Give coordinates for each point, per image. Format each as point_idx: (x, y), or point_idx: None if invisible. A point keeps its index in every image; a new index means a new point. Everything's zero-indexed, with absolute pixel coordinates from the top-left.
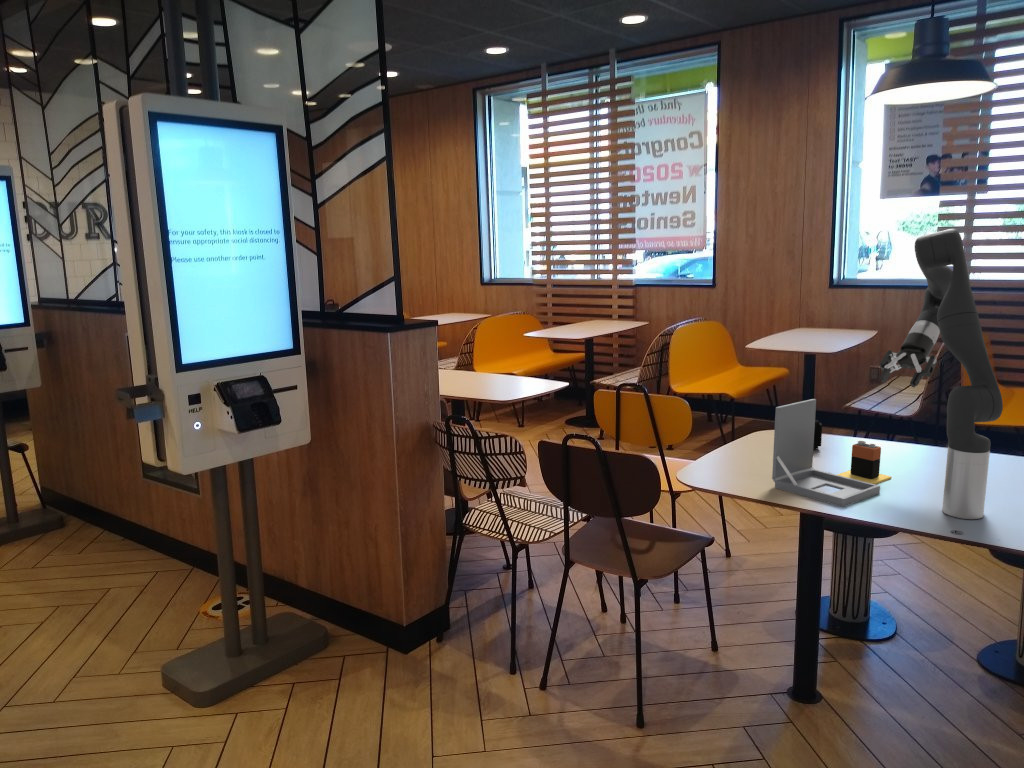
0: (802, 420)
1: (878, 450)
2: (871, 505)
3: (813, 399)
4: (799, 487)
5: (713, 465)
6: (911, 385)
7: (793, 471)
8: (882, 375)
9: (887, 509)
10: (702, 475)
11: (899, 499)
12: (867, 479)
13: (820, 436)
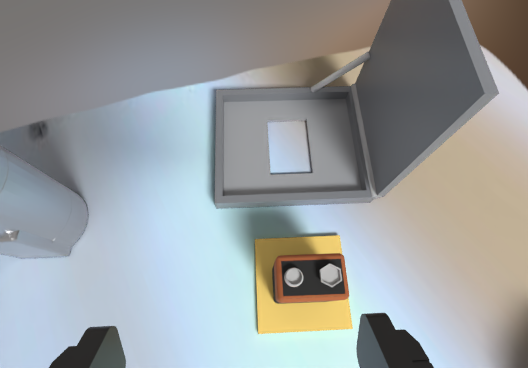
0: (422, 75)
1: (276, 284)
2: (191, 139)
3: (487, 84)
4: (302, 88)
5: (512, 112)
6: (116, 343)
7: (365, 132)
8: (397, 338)
9: (162, 141)
10: None
11: (173, 206)
12: None
13: None
